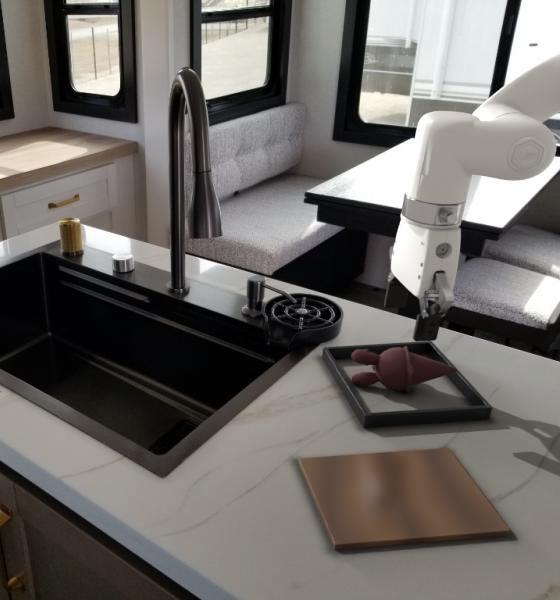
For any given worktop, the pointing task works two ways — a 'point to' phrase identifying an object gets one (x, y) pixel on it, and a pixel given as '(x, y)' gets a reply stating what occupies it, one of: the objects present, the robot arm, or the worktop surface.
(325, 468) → the board
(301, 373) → the worktop surface
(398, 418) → the black square frame
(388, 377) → the icecream
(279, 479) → the worktop surface
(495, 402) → the worktop surface
